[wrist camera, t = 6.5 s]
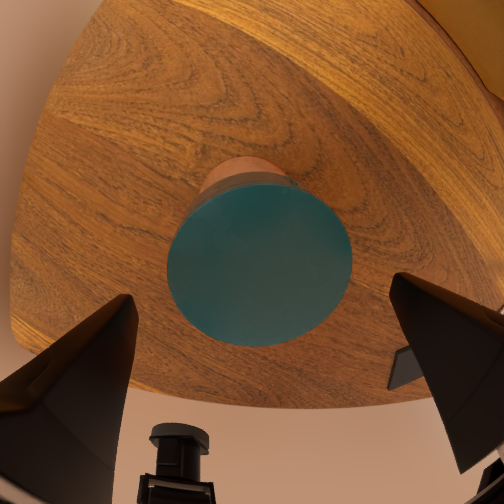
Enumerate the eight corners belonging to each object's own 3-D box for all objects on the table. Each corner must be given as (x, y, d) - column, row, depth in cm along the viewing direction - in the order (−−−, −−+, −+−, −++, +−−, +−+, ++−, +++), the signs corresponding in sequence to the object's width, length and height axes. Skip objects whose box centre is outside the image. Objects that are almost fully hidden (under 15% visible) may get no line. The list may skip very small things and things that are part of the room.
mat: (433, 367, 31) (435, 370, 30) (386, 388, 31) (388, 391, 30) (447, 328, 27) (450, 331, 27) (396, 350, 27) (398, 354, 27)
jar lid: (201, 147, 10) (194, 153, 8) (357, 201, 12) (383, 219, 9) (163, 295, 13) (154, 327, 11) (296, 325, 14) (306, 356, 12)
